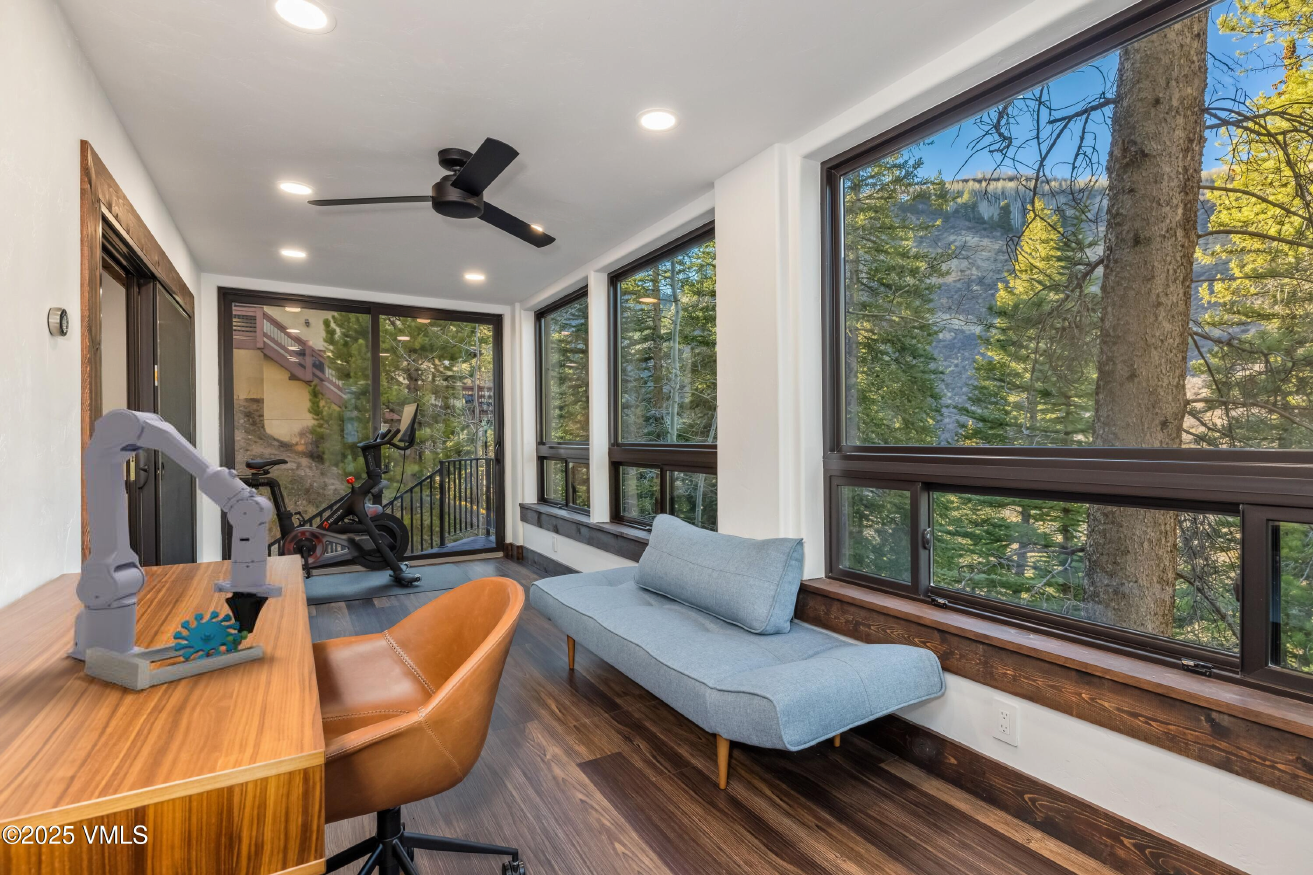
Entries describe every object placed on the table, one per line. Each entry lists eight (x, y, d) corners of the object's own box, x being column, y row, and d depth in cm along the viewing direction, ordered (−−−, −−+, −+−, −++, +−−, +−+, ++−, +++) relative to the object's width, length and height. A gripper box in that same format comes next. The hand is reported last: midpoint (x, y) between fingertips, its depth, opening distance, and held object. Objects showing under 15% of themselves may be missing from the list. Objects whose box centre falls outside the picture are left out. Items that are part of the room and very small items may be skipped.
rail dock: (84, 673, 104) (86, 648, 104) (212, 644, 121) (213, 623, 121) (137, 690, 97) (138, 664, 97) (264, 657, 114) (265, 635, 114)
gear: (164, 657, 107) (182, 607, 114) (164, 675, 111) (182, 625, 118) (240, 659, 112) (253, 610, 119) (238, 676, 115) (251, 628, 123)
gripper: (199, 561, 118) (195, 635, 117) (260, 566, 114) (256, 642, 113) (234, 556, 125) (231, 626, 124) (293, 560, 121) (289, 633, 120)
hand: (245, 633), depth 119 cm, fingers closed
